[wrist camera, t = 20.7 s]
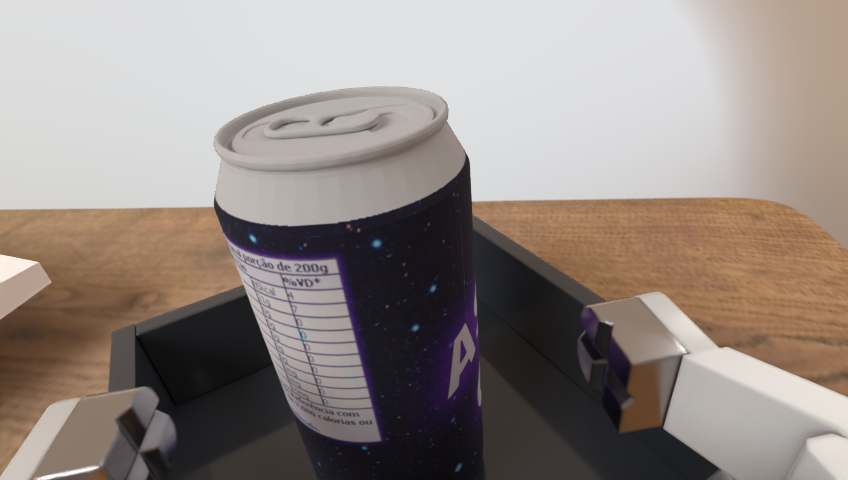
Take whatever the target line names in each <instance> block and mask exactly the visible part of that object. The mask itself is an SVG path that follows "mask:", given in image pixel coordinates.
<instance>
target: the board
mask: <svg viewBox="0 0 848 480" xmlns="http://www.w3.org/2000/svg"><path fill="white" fill-rule="evenodd" d="M50 283H52V282H51V280H50V279H49V277H48V276H47V274H46V273H45V271H44V269H43V268H42V266H41V265H40V263H39V262H35V261H30V260H25V259H20V258H15V257H10V256H5V255H0V320H1V319H2V318H3V317H5V316H6V315H7V314H9V313H10V312H12V311H13V310H14V309H16V308H17V307H19V306H20V305H21V304H23V303H24V302H26V301H27V300H28V299H30V298H31V297H32V296H34V295H35V294H37V293H38V292H39V291H41V290H42V289H43V288H45V287H46V286H48V285H49V284H50Z"/></svg>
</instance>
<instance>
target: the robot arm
mask: <svg viewBox="0 0 848 480" xmlns="http://www.w3.org/2000/svg"><path fill="white" fill-rule="evenodd" d="M579 322H580V323H581V325H582V326H583V328H584V329H585V331H584V332H583V333H582V334H581V335H580V337H579V338H578V342H577V355H578V360H579V365H580V367H581V370H582V372H583V375H584V377H585V379H586V380H587V382H588V384H589V385H590V386H591V387H593V388H594V389H596V390H598V391H600V392H601V393H602V399H601V406H602V407H603V409H604V411H605V412H606V414H607V416H608V417H609V419H610V420H611V422H612V424H613V425H614V427H615V429H616V430H617V432H618V434H622V433H628V432H633V431H639V430H645V429H650V428H656V427H661V426H664V427H663V429H664V430H666V431H667V432H669V433H670V434H672V435H673V436H674V437H676V438H677V439H679V440H680V441H681V442H683V443H684V444H686V445H687V446H689V447H690V448H691V449H693V450H694V451H696V452H697V453H699V454H700V455H701V456H703V457H704V458H706V459H707V460H708V461H710V462H711V463H713V464H714V465H716V466H717V467H718V468H720V469H721V470H723V471H724V472H725V473H727V474H728V475H730V476H731V477H733V478H734V479H735V480H848V397H846V396H844V395H842V394H839V393H837V392H834V391H832V390H830V389H827V388H825V387H823V386H820V385H818V384H815V383H813V382H811V381H808V380H806V379H803V378H801V377H799V376H796V375H794V374H791V373H789V372H787V371H784V370H782V369H779V368H777V367H775V366H772V365H770V364H767V363H765V362H763V361H760V360H758V359H756V358H753V357H751V356H748V355H746V354H744V353H741V352H739V351H736V350H734V349H732V348H729V347H723V348H719V347H718V346H717V345H716V344H715V343H714V342H713V341H712V340H711V339H710V338H709V337H708V336H707V335H706V334H705V333H704V332H703V331H702V330H701V329H700V328H699V327H698V326H697V325H696V324H695V323H694V322H693V321H692V320H691V319H690V318H689V317H688V316H687V315H686V314H685V313H684V312H683V311H681V310H680V309H679V308H678V307H677V306H676V305H675V304H674V303H673V302H672V301H671V300H670V299H669V298H668V297H667V296H666V295H665V294H663V293H661V292H659V291H657V292H652V293H647V294H642V295H637V296H633V297H628V298H623V299H617V300H612V301H607V302H602V303H596V304H591V305H586V306H584V307H583V308H582V310H581V313H580V321H579ZM159 401H160V399H159V397H158V396H157V394H156V393H155V391H154V390H153V389H152V387H138V388H131V389H125V390H119V391H113V392H106V393H100V394H94V395H87V396H86V397H79V398H73V399H66V400H59V401H57V402H55V403H54V404H52V405H51V406H49V407H48V408H47V409H46V411H45V412H44V414H43V415H42V416H41V418H40V419H39V421H38V422H37V424H36V425H35V427H34V428H33V430H32V431H31V433H30V434H29V436H28V437H27V438H26V440H25V441H24V443H23V444H22V446H21V447H20V449H19V450H18V452H17V453H16V455H15V456H14V457H13V459H12V460H11V462H10V463H9V465H8V466H7V468H6V469H5V471H4V472H3V474H2V475H1V477H0V480H161V479H162V478H163V477H164V476H165V475H166V474H167V473H168V472H169V471H170V470H171V469H172V467H173V463H174V460H175V457H176V454H177V439H178V436H177V432H176V428H175V424H174V423H173V421H172V419H171V417H170V416H169V415H167V414H165V413H163V412H161V411H159V410H157V409H156V408H157V406H158V403H159Z"/></svg>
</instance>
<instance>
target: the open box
mask: <svg viewBox="0 0 848 480" xmlns="http://www.w3.org/2000/svg"><path fill="white" fill-rule="evenodd" d="M472 219H473V240H474V260H475V280H476V300H477V320H478V341H479V361H480V381H481V401H482V421H483V441H484V443H483V455H482V459H481V463H480V466H479V469H478V472H477V474H476V476H475V478H474V480H735V479H734V478H733V477H731V476H730V475H728V474H727V473H725V472H724V471H723V470H721V469H720V468H718V467H717V466H716V465H714V464H713V463H711V462H710V461H708V460H707V459H706V458H704V457H703V456H701V455H700V454H699V453H697V452H696V451H694V450H693V449H691V448H690V447H689V446H687V445H686V444H684V443H683V442H681V441H680V440H679V439H677V438H676V437H674V436H673V435H672V434H670V433H669V432H667V431H666V430H664V429H663V427H664V426H661V427H656V428H650V429H645V430H639V431H633V432H628V433H622V434H618V432H617V430H616V429H615V427H614V425H613V424H612V422H611V420H610V419H609V417H608V416H607V414H606V412H605V411H604V409H603V407H602V406H601V399H602V393H601V392H600V391H598V390H596V389H594V388H593V387H591V386H590V385H589V384H588V382H587V380H586V379H585V377H584V375H583V372H582V370H581V367H580V365H579V360H578V355H577V342H578V338H579V337H580V335H581V334H582V333H583V332H584V331H585V329H584V328H583V326H582V325H581V323H580V322H579V321H580V313H581V310H582V308H583V307H584V306H586V305H591V304H596V303H602V302H607V301H606V300H605V299H603V298H602V297H600V296H599V295H597V294H596V293H594V292H592V291H591V290H589V289H588V288H586V287H585V286H583V285H582V284H580V283H578V282H577V281H575V280H574V279H572V278H571V277H569V276H568V275H566V274H564V273H563V272H561V271H560V270H558V269H557V268H555V267H554V266H552V265H551V264H549V263H547V262H546V261H544V260H543V259H541V258H540V257H538V256H537V255H535V254H533V253H532V252H530V251H529V250H527V249H526V248H524V247H523V246H521V245H520V244H518V243H516V242H515V241H513V240H512V239H510V238H509V237H507V236H506V235H504V234H502V233H501V232H499V231H498V230H496V229H495V228H493V227H492V226H490V225H488V224H487V223H485V222H484V221H482V220H481V219H479V218H478V217H476V216H475V215H473V214H472ZM138 387H152V389H153V390H154V391H155V393H156V394H157V396H158V397H159V399H160V401H159V403H158V406H157V408H156V409H157V410H159V411H161V412H163V413H165V414H167V415H169V416H170V417H171V419H172V421H173V423H174V424H175V428H176V432H177V436H178V439H177V454H176V457H175V460H174V463H173V467H172V469H171V470H170V471H169V472H168V473H167V474H166V475H165V476H164V477H163V478H162V479H161V480H317V477H316V474H315V472H314V469H313V467H312V464H311V461H310V459H309V456H308V453H307V451H306V448H305V445H304V443H303V440H302V438H301V435H300V432H299V430H298V427H297V424H296V422H295V419H294V417H293V414H292V411H291V409H290V406H289V403H288V401H287V398H286V395H285V393H284V390H283V388H282V385H281V382H280V380H279V377H278V374H277V372H276V369H275V366H274V364H273V361H272V359H271V356H270V353H269V351H268V348H267V345H266V343H265V340H264V338H263V335H262V332H261V330H260V327H259V324H258V322H257V319H256V316H255V314H254V311H253V309H252V306H251V303H250V301H249V298H248V295H247V293H246V290H245V287H244V285H242V286H239V287H236V288H234V289H231V290H228V291H225V292H222V293H220V294H217V295H214V296H211V297H209V298H206V299H203V300H200V301H198V302H195V303H192V304H189V305H186V306H184V307H181V308H178V309H175V310H173V311H170V312H167V313H164V314H162V315H159V316H156V317H153V318H151V319H148V320H145V321H142V322H139V323H137V324H136V325H135V324H133V325H130V326H127V327H124V328H121V329H119V330H116V331H113V332H112V338H111V354H110V371H109V387H108V392H113V391H119V390H125V389H131V388H138Z"/></svg>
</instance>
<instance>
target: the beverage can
mask: <svg viewBox="0 0 848 480" xmlns="http://www.w3.org/2000/svg"><path fill="white" fill-rule="evenodd" d="M447 119H448V106H447V103H446V101H445V100H444V99H443V98H442V97H440V96H439V95H437V94H435V93H431V92H429V91H425V90H421V89H414V88H407V87H363V88H349V89H348V88H347V89H340V90H333V91H326V92H319V93H315V94H309V95H305V96H300V97H295V98H290V99H287V100H283V101H280V102H277V103H273V104H269V105H266V106H263V107H260V108H258V109H255V110H253V111H250V112H248V113H245V114H243V115H241V116H239V117H237V118H235V119H233V120H232V121H230V122H228V123H227V124H225V125H224V126H223V127H222V128H221V129H220V130H219V131H218V132H217V134H216V135H215V137H214V148H215V150H216V152H217V154H218V155H219V156H220V157H221V163H220V170H219V175H218V180H217V186H216V191H215V198H214V208H215V211H216V214H217V216H218V219H219V222H220V224H221V227H222V230H223V232H224V235H225V237H226V240H227V243H228V245H229V248H230V251H231V253H232V256H233V259H234V261H235V264H236V266H237V269H238V272H239V274H240V277H241V280H242V282H243V285H244V287H245V290H246V293H247V295H248V298H249V301H250V303H251V306H252V309H253V311H254V314H255V316H256V319H257V322H258V324H259V327H260V330H261V332H262V335H263V338H264V340H265V343H266V345H267V348H268V351H269V353H270V356H271V359H272V361H273V364H274V366H275V369H276V372H277V374H278V377H279V380H280V382H281V385H282V388H283V390H284V393H285V395H286V398H287V401H288V403H289V406H290V409H291V411H292V414H293V417H294V419H295V422H296V424H297V427H298V430H299V432H300V435H301V438H302V440H303V443H304V445H305V448H306V451H307V453H308V456H309V459H310V461H311V464H312V467H313V469H314V472H315V474H316V477H317V480H474V478H475V476H476V474H477V472H478V469H479V466H480V463H481V459H482V455H483V443H484V441H483V421H482V401H481V381H480V361H479V341H478V320H477V300H476V280H475V260H474V240H473V219H472V199H471V179H470V162H469V158H468V156H467V154H466V152H465V150H464V149H463V147H462V145H461V144H460V142H459V140H458V139H457V137H456V136H455V134H454V132H453V131H452V129H451V127H450V126H449V124H448V122H447Z"/></svg>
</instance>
